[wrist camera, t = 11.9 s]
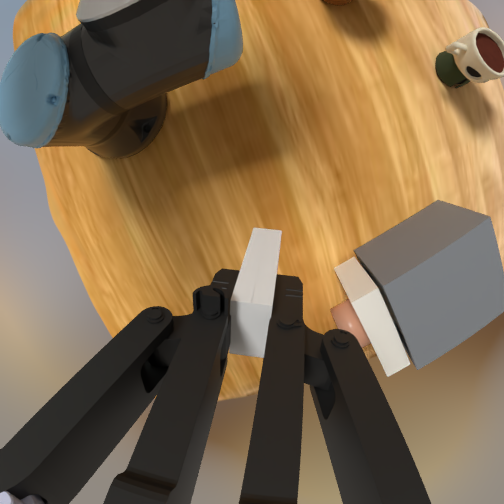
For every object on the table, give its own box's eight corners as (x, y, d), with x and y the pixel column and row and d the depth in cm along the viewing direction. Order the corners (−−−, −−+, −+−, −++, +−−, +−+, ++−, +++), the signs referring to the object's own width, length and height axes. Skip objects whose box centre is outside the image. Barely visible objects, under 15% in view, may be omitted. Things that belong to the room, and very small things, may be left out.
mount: (387, 320, 48) (417, 370, 35) (353, 250, 45) (383, 286, 32) (462, 272, 45) (509, 307, 31) (437, 199, 42) (490, 216, 28)
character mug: (422, 84, 37) (466, 64, 25) (418, 44, 35) (456, 15, 23) (476, 97, 36) (524, 86, 24) (471, 59, 34) (516, 40, 22)
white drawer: (350, 341, 48) (367, 387, 37) (315, 277, 46) (327, 315, 34) (456, 278, 44) (494, 308, 33) (432, 209, 42) (475, 226, 30)
